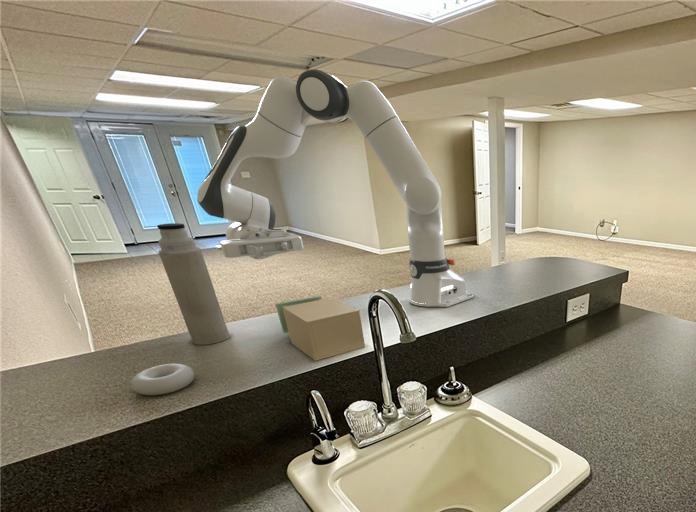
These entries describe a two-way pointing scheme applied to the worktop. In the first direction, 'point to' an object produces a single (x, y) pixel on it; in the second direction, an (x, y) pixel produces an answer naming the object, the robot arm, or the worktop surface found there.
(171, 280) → the thermos bottle
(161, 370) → the donut
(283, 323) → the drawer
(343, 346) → the tan cardboard box
